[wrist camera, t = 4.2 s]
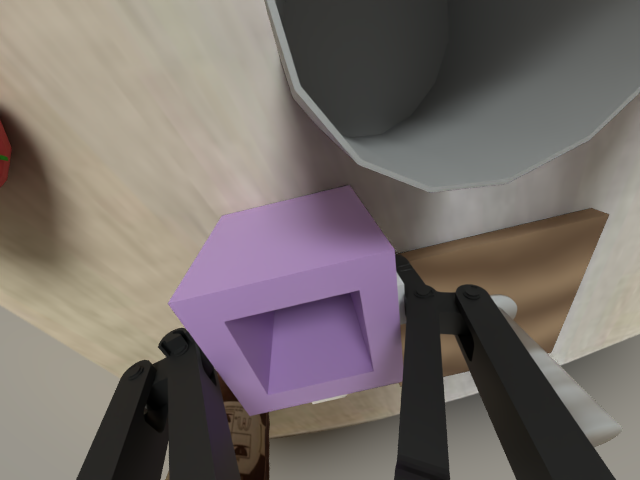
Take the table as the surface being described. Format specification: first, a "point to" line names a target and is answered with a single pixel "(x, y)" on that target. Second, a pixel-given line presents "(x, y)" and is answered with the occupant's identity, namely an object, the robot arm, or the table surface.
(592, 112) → the cup
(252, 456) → the coffee cup
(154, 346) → the table surface
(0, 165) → the tomato
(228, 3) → the table surface
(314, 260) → the purple planter box
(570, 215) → the post board
